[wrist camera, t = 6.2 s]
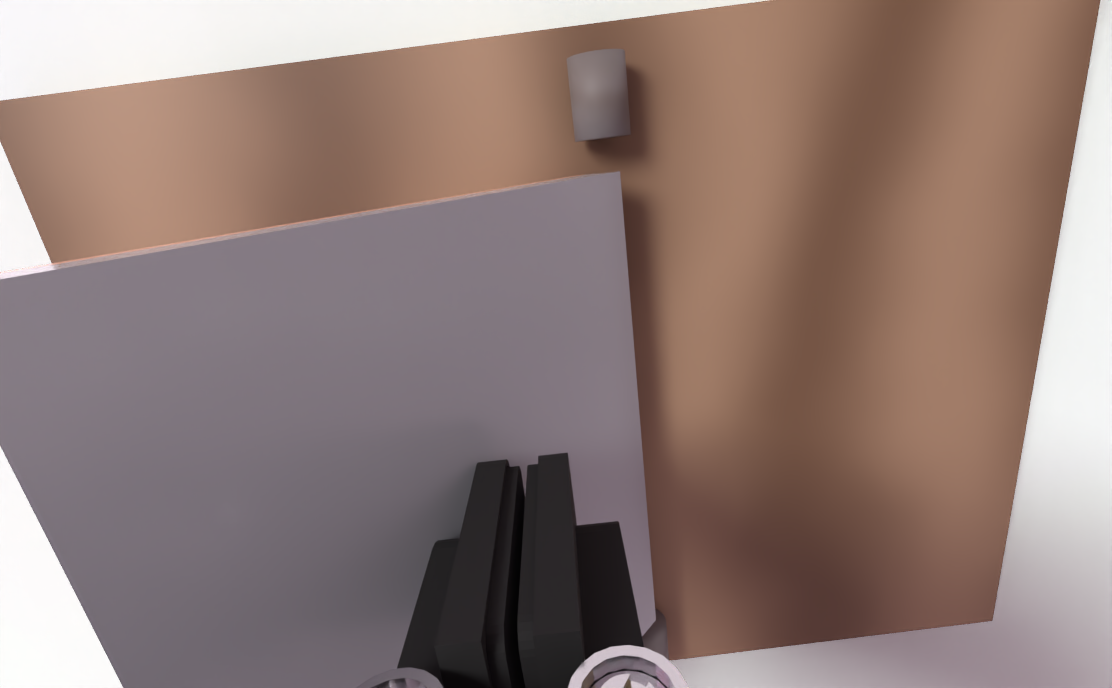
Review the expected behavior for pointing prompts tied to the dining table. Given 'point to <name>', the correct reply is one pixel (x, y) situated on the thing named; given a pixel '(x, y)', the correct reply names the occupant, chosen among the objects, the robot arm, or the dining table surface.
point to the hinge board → (698, 258)
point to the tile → (315, 420)
